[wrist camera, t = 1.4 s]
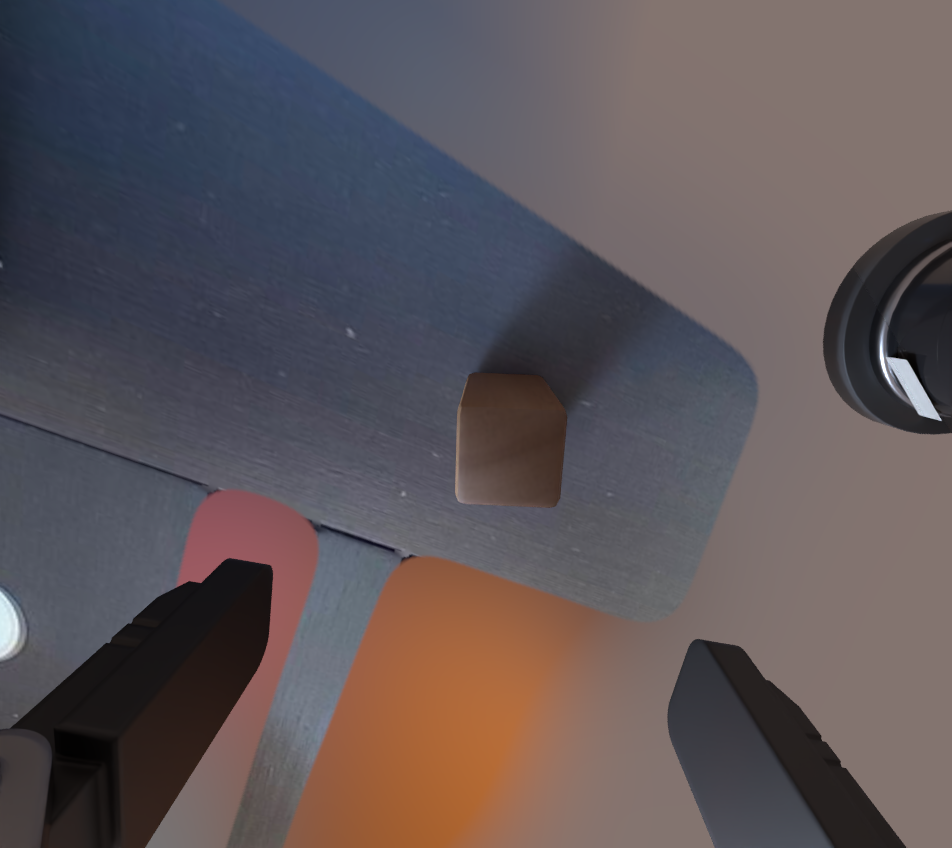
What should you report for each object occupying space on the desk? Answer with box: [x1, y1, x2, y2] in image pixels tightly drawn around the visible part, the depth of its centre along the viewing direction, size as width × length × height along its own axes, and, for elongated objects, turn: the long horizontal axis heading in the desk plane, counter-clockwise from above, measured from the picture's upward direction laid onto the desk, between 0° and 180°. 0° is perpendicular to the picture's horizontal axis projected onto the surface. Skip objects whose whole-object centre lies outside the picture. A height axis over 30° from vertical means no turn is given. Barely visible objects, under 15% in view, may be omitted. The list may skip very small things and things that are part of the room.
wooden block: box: [455, 373, 567, 508], centre depth 21 cm, size 4×4×8 cm
